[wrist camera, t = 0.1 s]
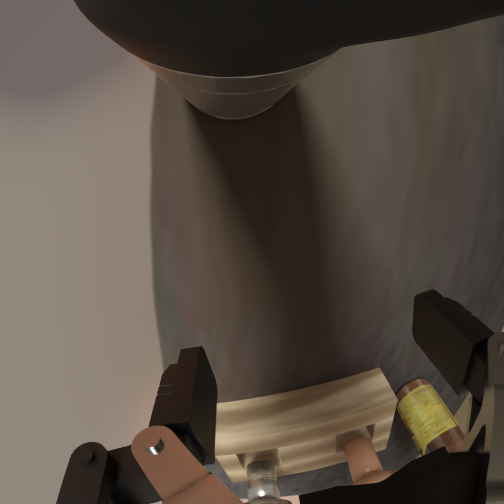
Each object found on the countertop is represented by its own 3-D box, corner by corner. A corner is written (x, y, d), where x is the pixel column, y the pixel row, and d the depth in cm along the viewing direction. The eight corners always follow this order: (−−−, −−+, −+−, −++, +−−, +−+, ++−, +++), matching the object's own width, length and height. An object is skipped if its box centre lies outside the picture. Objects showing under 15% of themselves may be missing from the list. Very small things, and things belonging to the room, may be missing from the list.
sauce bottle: (384, 402, 37) (435, 511, 19) (412, 372, 35) (478, 480, 17) (409, 407, 39) (458, 503, 20) (435, 380, 37) (496, 474, 18)
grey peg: (230, 459, 29) (232, 516, 22) (282, 451, 29) (291, 509, 22) (242, 478, 31) (245, 528, 24) (287, 471, 31) (296, 522, 24)
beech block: (208, 404, 34) (206, 441, 29) (379, 367, 34) (397, 399, 29) (231, 450, 39) (232, 482, 33) (373, 419, 38) (385, 448, 33)
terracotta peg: (333, 440, 29) (350, 495, 21) (382, 425, 29) (404, 476, 21) (333, 461, 31) (347, 510, 24) (377, 448, 31) (395, 494, 23)
